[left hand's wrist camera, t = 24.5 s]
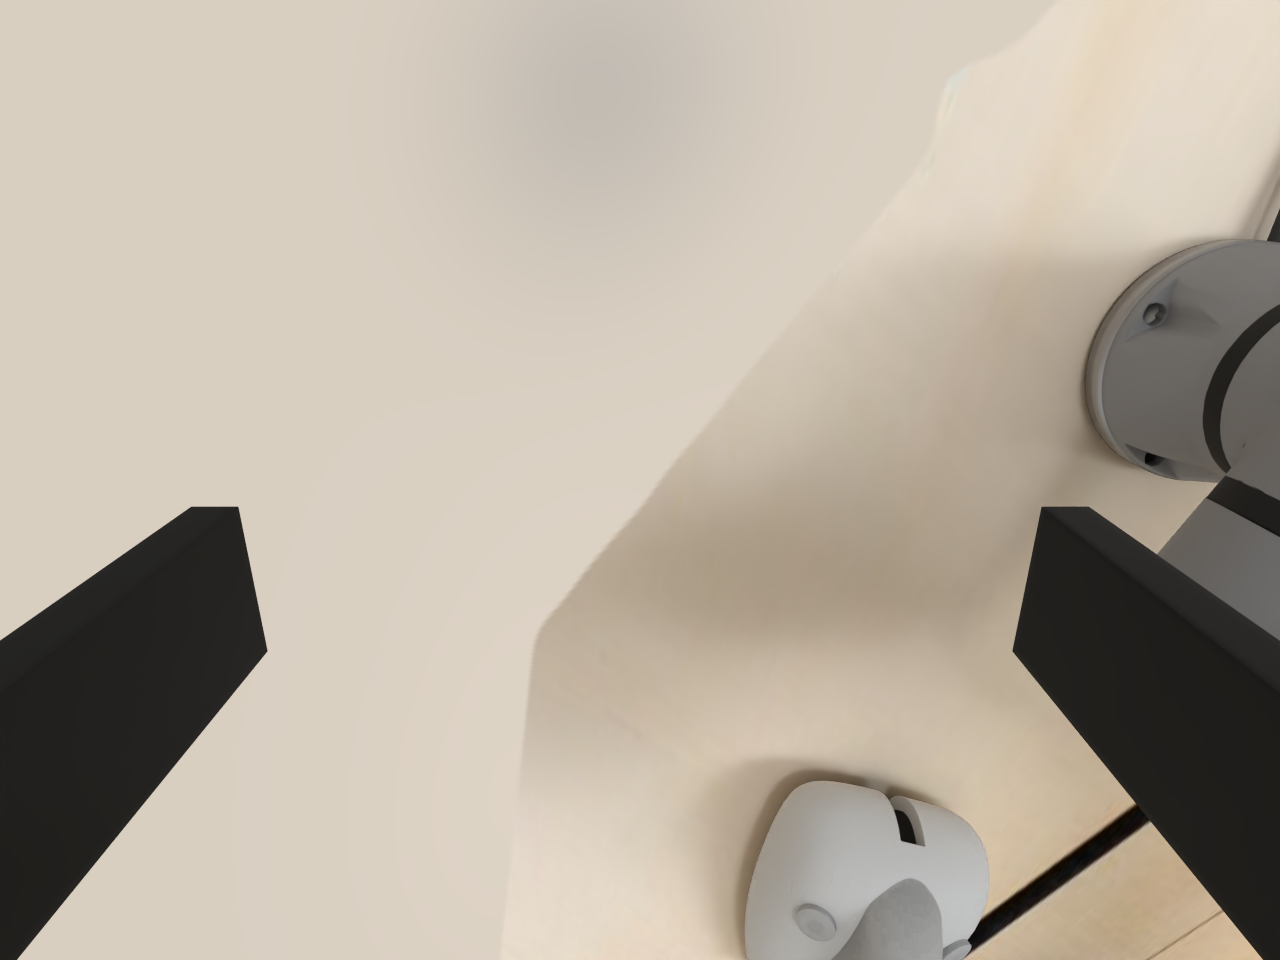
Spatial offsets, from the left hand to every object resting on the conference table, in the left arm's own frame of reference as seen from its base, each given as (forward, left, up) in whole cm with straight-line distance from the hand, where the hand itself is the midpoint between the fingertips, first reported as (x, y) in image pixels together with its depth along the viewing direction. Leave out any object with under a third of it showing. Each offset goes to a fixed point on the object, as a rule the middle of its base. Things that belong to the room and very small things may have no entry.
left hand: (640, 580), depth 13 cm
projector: (+51, +5, -38) cm, 64 cm away
